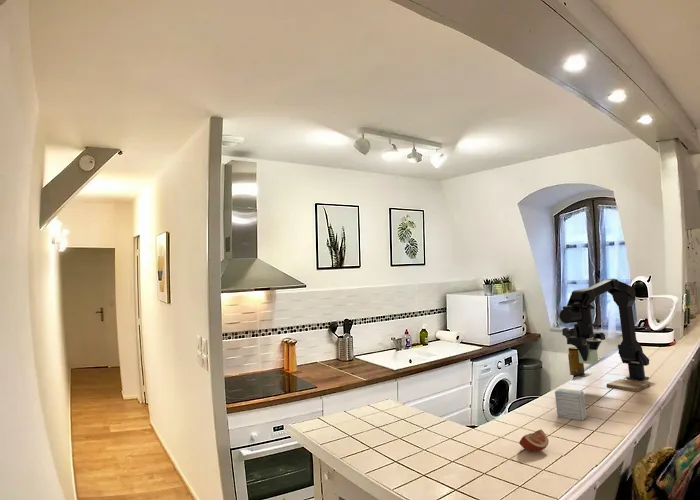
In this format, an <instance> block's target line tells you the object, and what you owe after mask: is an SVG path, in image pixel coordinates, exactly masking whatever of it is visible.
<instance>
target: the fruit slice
mask: <svg viewBox="0 0 700 500" xmlns="http://www.w3.org/2000/svg"><path fill="white" fill-rule="evenodd" d="M549 442H550V441H549V437H548V436H547V434H546V433H545V431H544V430H543V429H542V428H541V429H538V430H536V431H534V432H531V433H528V434H525V435H523V436H522V437H521V439H519V441H518V443H519V445H520V446H521V447H522V448H523V449H524V450H526V451H528V452H534V453H536V452H541V451H542V450H545V449H546V448H547V447H548V445H549Z"/></svg>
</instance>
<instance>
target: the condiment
mask: <svg viewBox="0 0 700 500" xmlns="http://www.w3.org/2000/svg"><path fill="white" fill-rule="evenodd" d="M567 351H568V354H567V356H568V366H569V373H567V376H568V375H569V376H579V377H588V376H591V375H592V373H591V372H585V365H584V363H579V355H578V348H577V347H575V346H571V347H568V350H567Z"/></svg>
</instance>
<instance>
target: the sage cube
mask: <svg viewBox="0 0 700 500" xmlns="http://www.w3.org/2000/svg"><path fill="white" fill-rule="evenodd" d="M578 355H579V363H584V364H585V365H586V364H587V365H594V364H597V363H599V355H598V349H597V350H594V349H589V352H588V357H587V361H583V359H582V356H581V354H580V352H579V350H578Z"/></svg>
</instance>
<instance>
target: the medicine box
mask: <svg viewBox="0 0 700 500" xmlns="http://www.w3.org/2000/svg"><path fill="white" fill-rule="evenodd" d="M554 396H555V397H554V398H555V406H556V412H557V413H556V415H557V418H560V419H568V420H575V421H576V420H577V421H582V422H583V421H585V419H586V418H587V411H586V410H587V408H586V401H585V394H584V391H583V390H577V389H566V388H557V389H556V390H555V391H554Z"/></svg>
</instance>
